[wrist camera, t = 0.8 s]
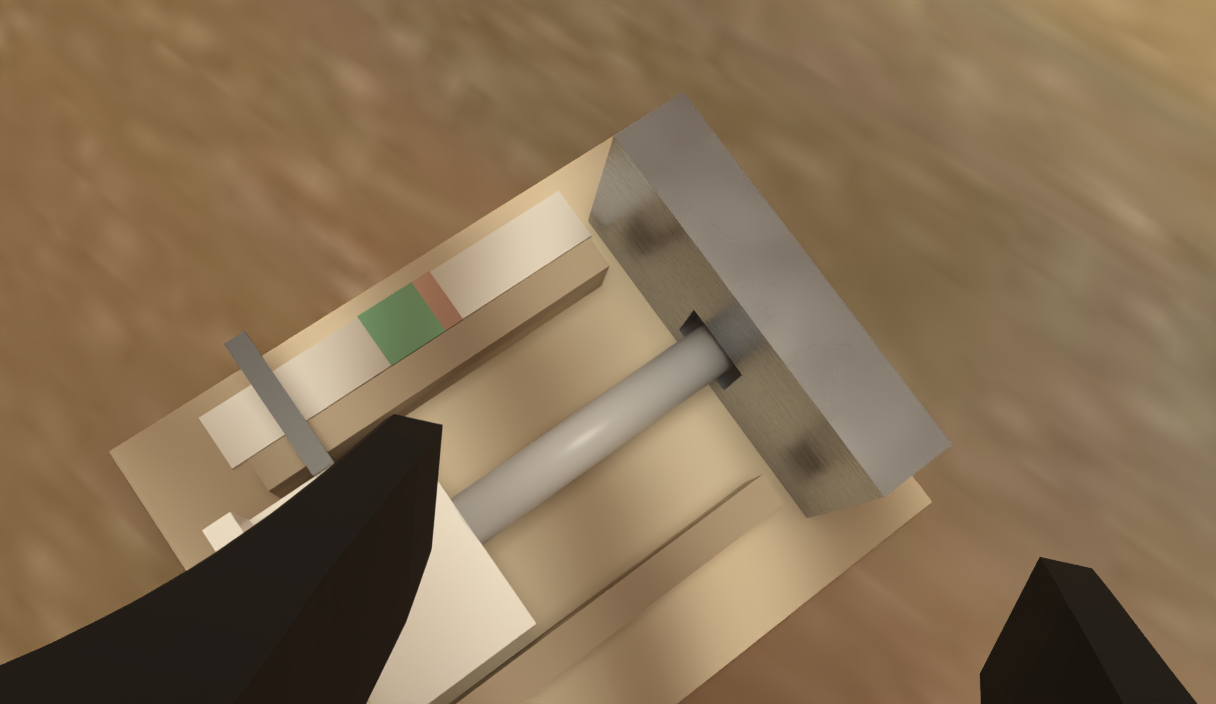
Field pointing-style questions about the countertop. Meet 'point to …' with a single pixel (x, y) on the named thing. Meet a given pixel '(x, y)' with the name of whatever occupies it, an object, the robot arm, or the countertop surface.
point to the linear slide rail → (573, 377)
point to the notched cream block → (486, 511)
